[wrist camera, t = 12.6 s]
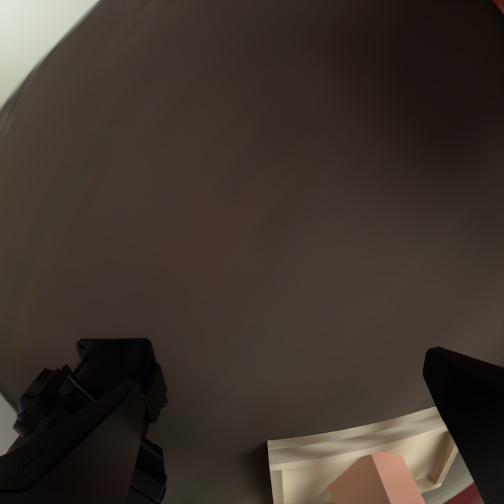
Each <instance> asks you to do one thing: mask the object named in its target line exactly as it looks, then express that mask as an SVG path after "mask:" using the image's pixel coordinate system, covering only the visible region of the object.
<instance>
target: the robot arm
mask: <svg viewBox="0 0 504 504" xmlns="http://www.w3.org/2000/svg"><path fill="white" fill-rule="evenodd" d="M82 344H83V345H84V346H85V347H83V346H82ZM142 344H146V345H147V347H144V346H143V345H142ZM77 348H78V351H79V354H80V356H81V359H82V361H81V363H80V364H79V365H78V366H77V368H76V369H75V370H74V372H73V373H72V372H71V369H70V368H69V367H68V366H67V365H66V364H65V365H64V366H63V367H62V368H61V369H59V368H57V369H56V370H54V371H53V370H49V369H46V368H45V369H44V370H43V371H42V372H41V373H40V374H39V375H38V377H37V378H36V379H35V380H34V381H33V382H32V383H31V385H30V386H29V387H28V388H27V389H26V391H25V392H24V393H23V395H22V396H21V397H20V399H19V400H18V403H19V413H18V415H17V420H16V422H15V424H14V426H13V429H14V430H15V431H16V432H17V433H18V434H19V436H18V438H17V439H16V441H15V442H14V443H13V444H12V446H11V447H10V448H9V450H8V451H7V453H6V454H5V455H2V456H0V504H160V503H161V502H162V500H163V498H164V495H165V492H166V482H167V475H166V474H165V470H164V461H163V451H162V448H161V447H159V446H158V445H157V444H153V443H152V442H151V441H149V440H148V439H147V438H145V437H146V434H147V431H148V428H149V425H150V424H155V423H156V422H157V420H158V417H159V414H160V411H161V408H163V407H166V405H167V402H168V400H167V397H166V392H167V388H166V384H165V381H164V377H163V374H162V370H161V367H160V365H159V364H158V363H156V359H155V355H154V352H153V348H152V344H151V342H150V341H149V340H148V339H146V338H130V339H80V340H79V341H78V342H77ZM423 377H424V379H425V382H426V384H427V386H428V389H429V391H430V394H431V396H432V398H433V401H434V403H435V406H436V408H437V410H438V412H439V414H440V416H441V418H442V420H443V422H444V424H445V425H446V427H447V429H448V431H449V433H450V435H451V437H452V439H453V440H454V442H455V444H456V446H457V448H458V450H459V452H460V454H461V456H462V458H463V460H464V462H465V464H466V466H467V468H468V470H469V472H470V474H471V476H472V478H473V480H474V482H475V484H476V486H477V489H478V491H479V493H480V495H481V497H482V499H483V502H484V504H504V368H503V367H500V366H496V365H493V364H490V363H487V362H484V361H481V360H478V359H475V358H472V357H469V356H466V355H463V354H460V353H457V352H454V351H451V350H448V349H445V348H442V347H434V348H430V349H428V350H427V352H426V356H425V361H424V367H423Z"/></svg>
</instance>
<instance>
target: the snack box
mask: <svg viewBox="0 0 504 504" xmlns="http://www.w3.org/2000/svg"><path fill="white" fill-rule="evenodd" d="M492 1H493V2H494V3H495V5H496V6H497V7H498V9H499V10H500V11H501V13H502V14H503V15H504V0H492Z"/></svg>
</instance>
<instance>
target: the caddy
mask: <svg viewBox="0 0 504 504" xmlns="http://www.w3.org/2000/svg"><path fill="white" fill-rule="evenodd" d="M329 487H330V491H331V496H332V500H333V504H425V502H424V500H423V497H422V495H421V493H420V491H419V489H418V487H417V485H416V483H415V481H414V479H413V477H412V475H411V473H410V470H409V468H408V466H407V464H406V462H405V460H404V458H403V456H401V455H396V454H390V453H385V452H378V453H374V454H370V455H366V456H362V457H360V458H359V459H358V460H357V461H356V462H355V463H354V464H353V465H352V466H351V467H349V468H348V469H347V470H346V471H345V472H344V473H343V474H342V475H340V476H339V477H338V478H337V479H336V480H335V481H333V482H332V483H331V484H330V485H329Z"/></svg>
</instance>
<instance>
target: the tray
mask: <svg viewBox="0 0 504 504" xmlns="http://www.w3.org/2000/svg"><path fill="white" fill-rule="evenodd" d="M267 442H268V455H269V467H270V475H271V484H272V493H273V501H274V504H333V500H332V496H331V491H330V487H329V485H330V484H331V483H332V482H333V481H335V480H336V479H337V478H338V477H339V476H340V475H342V474H343V473H344V472H345V471H346V470H347V469H348V468H349V467H351V466H352V465H353V464H354V463H355V462H356V461H357V460H358V459H359V458H360V457H362V456H366V455H370V454H374V453H378V452H385V453H390V454H396V455H401V456H403V458H404V460H405V462H406V464H407V466H408V468H409V470H410V473H411V475H412V477H413V479H414V481H415V483H416V485H417V487H418V489H419V491H420V493H421V494H422V493H424V492H427V491H430V490H432V489H435V488H437V487H440V485H441V484H442V482H443V480H444V478H445V476H446V474H447V472H448V471H449V469H450V467H451V465H452V463H453V461H454V459H455V456H456V454H457V452H458V448H457V446H456V444H455V442H454V440H453V439H452V437H451V435H450V433H449V431H448V429H447V427H446V425H445V424H444V422H443V420H442V418H441V416H440V414H439V412H438V410H437V408H436V406H434V407H431V408H428V409H425V410H422V411H418V412H415V413H412V414H408V415H405V416H401V417H397V418H394V419H390V420H386V421H382V422H378V423H373V424H369V425H365V426H360V427H355V428H350V429H345V430H340V431H335V432H329V433H323V434H317V435H310V436H303V437H295V438H287V439H278V440H268V441H267Z"/></svg>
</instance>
